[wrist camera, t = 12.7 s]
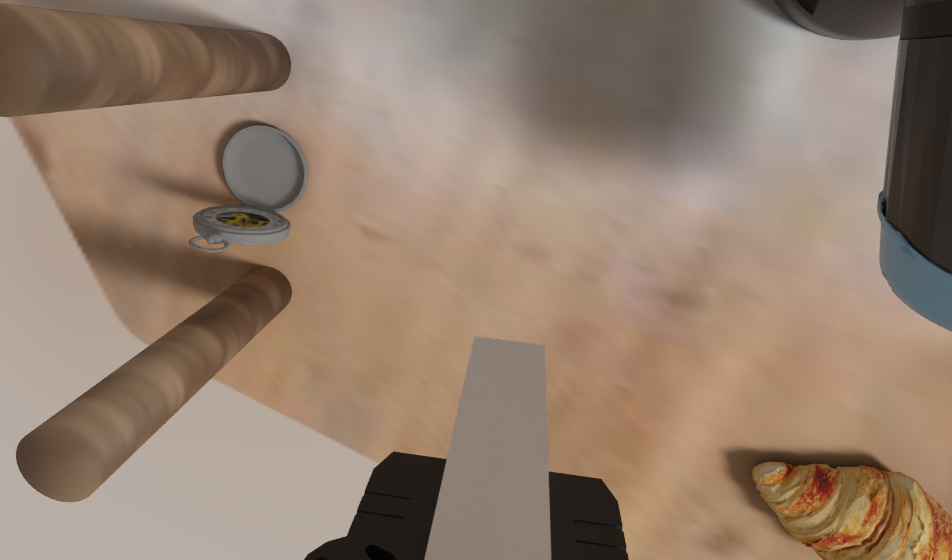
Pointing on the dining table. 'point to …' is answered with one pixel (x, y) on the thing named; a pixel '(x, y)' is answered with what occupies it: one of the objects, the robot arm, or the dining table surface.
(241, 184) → the pocket watch
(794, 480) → the croissant
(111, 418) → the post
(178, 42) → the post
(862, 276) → the dining table surface
